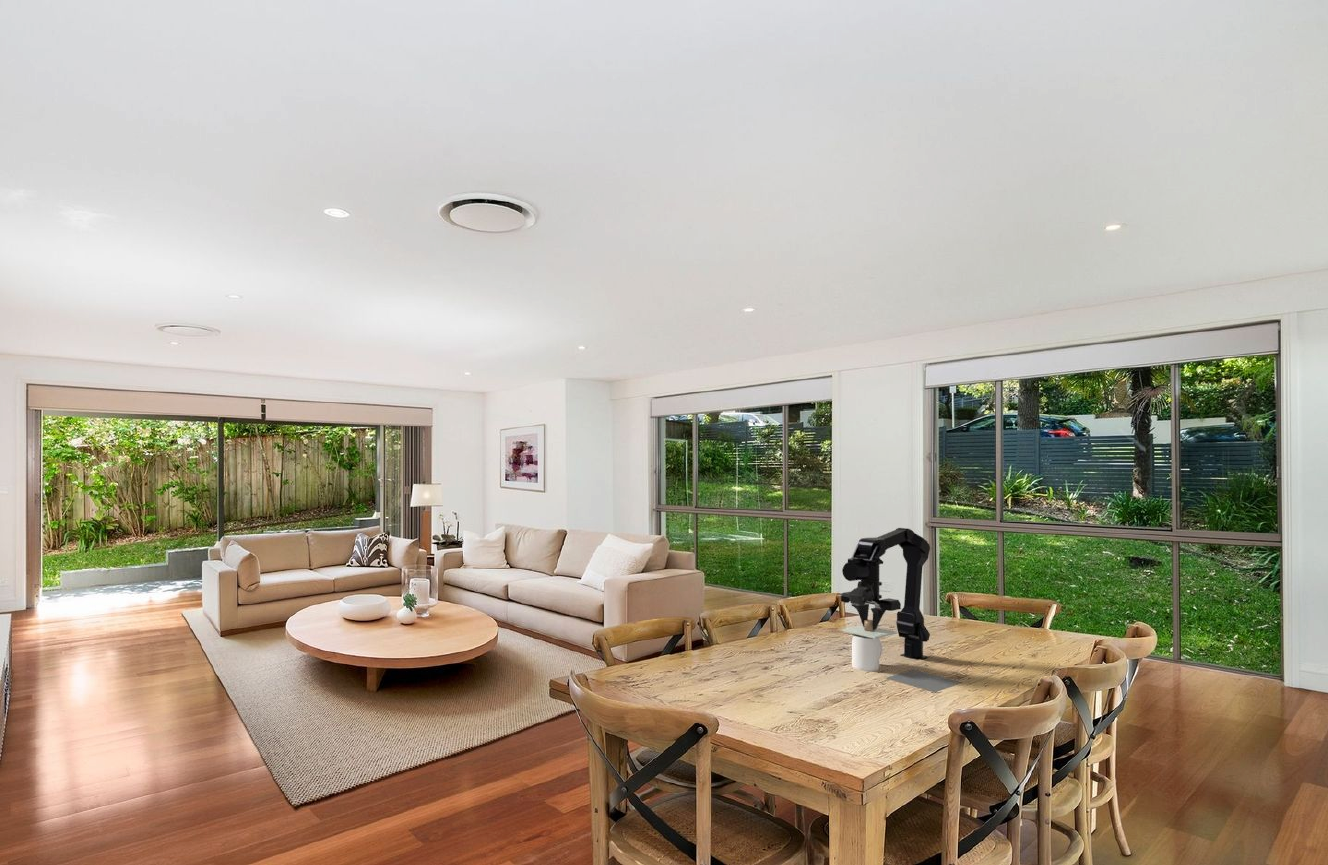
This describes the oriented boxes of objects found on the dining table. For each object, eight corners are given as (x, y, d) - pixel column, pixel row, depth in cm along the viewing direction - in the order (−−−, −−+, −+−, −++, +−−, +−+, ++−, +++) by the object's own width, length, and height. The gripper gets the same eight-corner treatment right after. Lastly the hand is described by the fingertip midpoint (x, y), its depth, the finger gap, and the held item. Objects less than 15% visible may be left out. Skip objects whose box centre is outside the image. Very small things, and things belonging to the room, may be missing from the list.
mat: (913, 670, 214) (913, 669, 214) (963, 683, 202) (963, 682, 202) (884, 679, 204) (884, 678, 204) (934, 693, 192) (934, 692, 192)
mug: (871, 662, 223) (871, 630, 224) (892, 668, 216) (892, 635, 217) (846, 667, 216) (846, 634, 217) (867, 673, 209) (867, 639, 210)
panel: (864, 626, 225) (864, 615, 225) (897, 633, 216) (897, 622, 216) (842, 631, 218) (842, 619, 218) (874, 638, 208) (875, 626, 209)
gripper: (830, 576, 220) (829, 626, 219) (881, 584, 206) (880, 637, 205) (851, 574, 227) (850, 621, 226) (901, 581, 213) (901, 632, 212)
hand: (869, 628), depth 217 cm, fingers closed on panel, 3 cm apart
